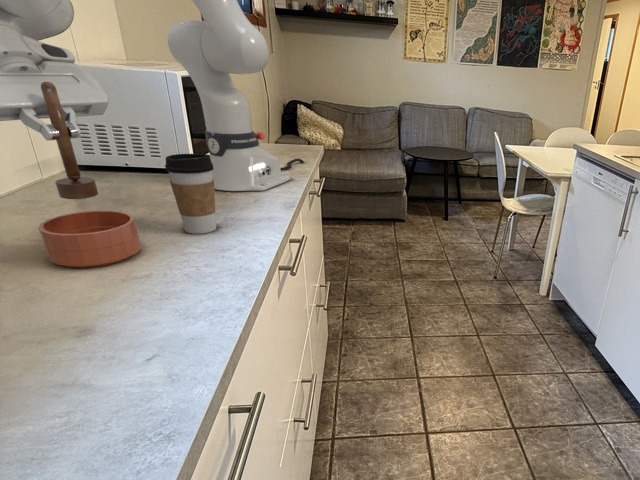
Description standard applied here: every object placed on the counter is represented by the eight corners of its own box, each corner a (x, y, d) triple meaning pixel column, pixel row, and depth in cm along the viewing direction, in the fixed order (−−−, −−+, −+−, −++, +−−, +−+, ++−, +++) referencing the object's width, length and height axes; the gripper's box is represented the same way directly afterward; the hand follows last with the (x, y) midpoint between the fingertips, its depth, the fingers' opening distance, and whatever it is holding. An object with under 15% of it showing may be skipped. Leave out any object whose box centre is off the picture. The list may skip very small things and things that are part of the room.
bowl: (110, 236, 91) (102, 206, 88) (158, 250, 86) (151, 219, 84) (32, 258, 80) (20, 224, 77) (82, 276, 75) (71, 240, 73)
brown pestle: (85, 189, 81) (54, 80, 73) (105, 194, 80) (76, 83, 72) (52, 195, 77) (15, 80, 69) (72, 201, 75) (37, 83, 67)
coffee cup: (205, 238, 93) (192, 161, 87) (168, 232, 95) (151, 156, 88) (231, 225, 101) (221, 153, 94) (196, 220, 102) (183, 149, 95)
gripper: (-83, 42, 62) (-13, 129, 63) (80, 50, 79) (133, 118, 80) (-86, 77, 66) (-20, 158, 67) (71, 77, 83) (122, 142, 84)
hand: (65, 136), depth 74 cm, fingers closed on brown pestle
